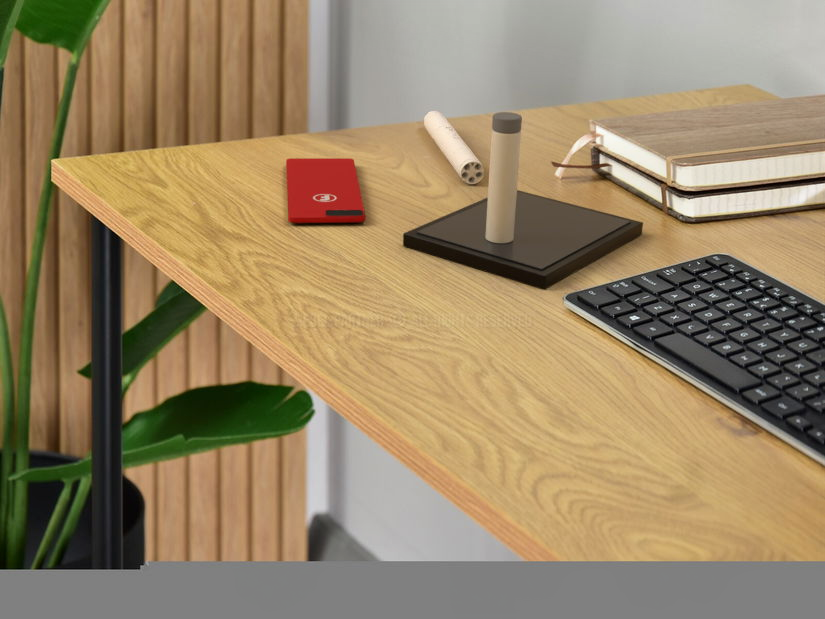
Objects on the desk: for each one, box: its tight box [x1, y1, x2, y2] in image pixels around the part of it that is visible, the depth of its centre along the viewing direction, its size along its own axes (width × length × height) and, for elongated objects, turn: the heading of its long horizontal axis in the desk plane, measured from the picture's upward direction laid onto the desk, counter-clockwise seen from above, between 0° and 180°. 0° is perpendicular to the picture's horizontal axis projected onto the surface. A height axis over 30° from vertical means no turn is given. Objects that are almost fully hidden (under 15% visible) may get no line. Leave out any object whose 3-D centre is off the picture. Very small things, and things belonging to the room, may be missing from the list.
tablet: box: [402, 189, 644, 290], centre depth 89 cm, size 14×12×1 cm
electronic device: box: [285, 157, 366, 224], centre depth 97 cm, size 6×1×15 cm
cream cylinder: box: [423, 110, 485, 185], centre depth 108 cm, size 18×2×2 cm, turn 11°
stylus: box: [485, 111, 523, 243], centre depth 84 cm, size 2×2×9 cm
